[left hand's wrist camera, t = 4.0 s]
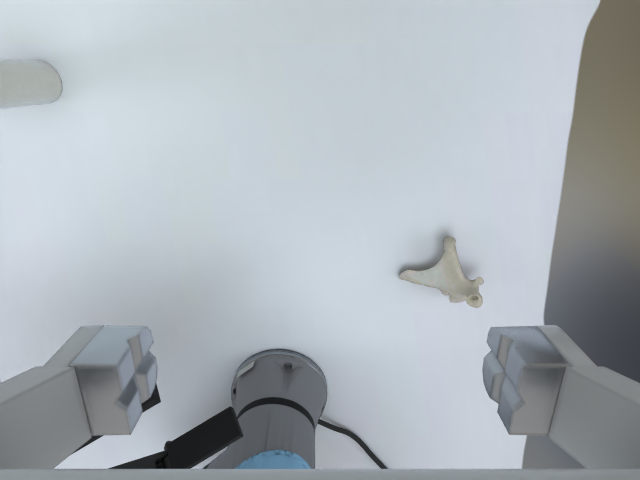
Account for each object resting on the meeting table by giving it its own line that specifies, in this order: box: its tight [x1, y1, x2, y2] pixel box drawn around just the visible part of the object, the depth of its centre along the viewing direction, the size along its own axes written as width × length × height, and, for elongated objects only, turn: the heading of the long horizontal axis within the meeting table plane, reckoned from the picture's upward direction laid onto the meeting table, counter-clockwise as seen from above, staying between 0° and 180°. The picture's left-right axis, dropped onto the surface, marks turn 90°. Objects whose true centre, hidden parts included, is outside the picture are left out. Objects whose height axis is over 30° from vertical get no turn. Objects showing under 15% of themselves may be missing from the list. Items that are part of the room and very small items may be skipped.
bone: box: [399, 237, 484, 308], centre depth 61 cm, size 10×6×10 cm
